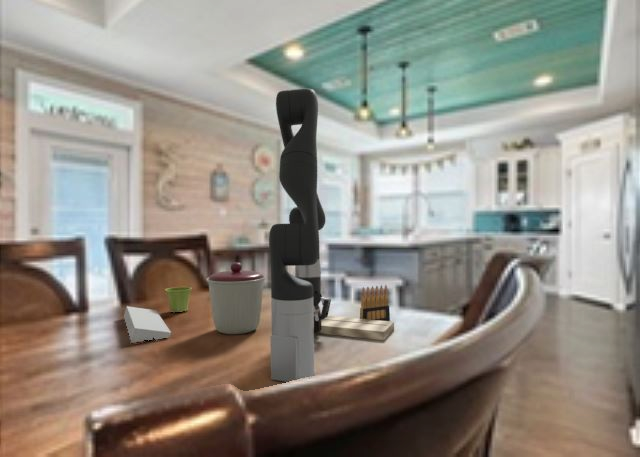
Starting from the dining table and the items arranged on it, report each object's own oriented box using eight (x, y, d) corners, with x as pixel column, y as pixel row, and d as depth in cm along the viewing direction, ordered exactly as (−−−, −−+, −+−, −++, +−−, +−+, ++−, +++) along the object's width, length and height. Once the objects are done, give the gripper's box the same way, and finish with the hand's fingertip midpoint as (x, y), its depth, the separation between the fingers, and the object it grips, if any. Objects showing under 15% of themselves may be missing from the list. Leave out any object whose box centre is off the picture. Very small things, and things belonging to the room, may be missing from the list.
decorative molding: (152, 323, 149) (123, 319, 144) (156, 310, 150) (126, 306, 145) (166, 349, 119) (130, 345, 114) (171, 332, 120) (134, 328, 115)
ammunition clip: (362, 324, 132) (362, 287, 132) (359, 323, 134) (359, 286, 134) (390, 320, 137) (389, 284, 137) (386, 319, 139) (386, 284, 138)
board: (394, 329, 126) (394, 321, 126) (384, 340, 115) (384, 331, 115) (311, 321, 137) (311, 314, 137) (294, 330, 126) (294, 322, 126)
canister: (235, 320, 140) (234, 258, 139) (278, 327, 130) (277, 261, 130) (194, 333, 124) (192, 264, 124) (239, 342, 115) (238, 267, 114)
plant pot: (164, 310, 157) (164, 287, 157) (190, 307, 161) (189, 285, 161) (166, 315, 148) (166, 291, 148) (193, 312, 152) (193, 289, 152)
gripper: (280, 275, 120) (281, 332, 120) (325, 277, 114) (326, 337, 115) (292, 272, 127) (292, 326, 127) (335, 273, 121) (335, 331, 122)
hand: (308, 331), depth 121 cm, fingers open, 5 cm apart
